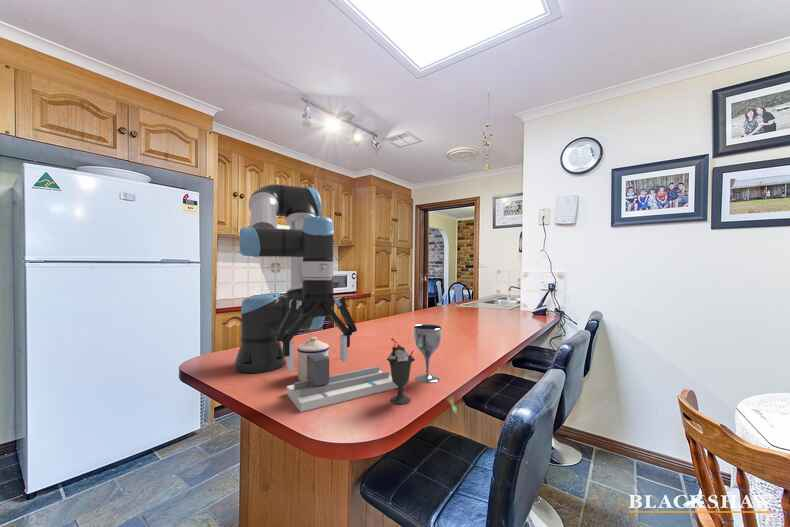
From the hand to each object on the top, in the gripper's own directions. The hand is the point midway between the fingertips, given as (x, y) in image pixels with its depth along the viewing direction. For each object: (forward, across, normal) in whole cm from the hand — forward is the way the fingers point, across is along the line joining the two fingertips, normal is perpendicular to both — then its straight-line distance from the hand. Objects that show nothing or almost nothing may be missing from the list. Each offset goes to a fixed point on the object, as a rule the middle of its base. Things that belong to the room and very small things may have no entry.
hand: (318, 365), depth 78 cm
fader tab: (+6, 0, 0) cm, 6 cm away
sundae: (+8, +16, -12) cm, 22 cm away
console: (+8, +7, 0) cm, 11 cm away
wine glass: (+8, +31, -4) cm, 32 cm away
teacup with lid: (+8, +5, +16) cm, 18 cm away
